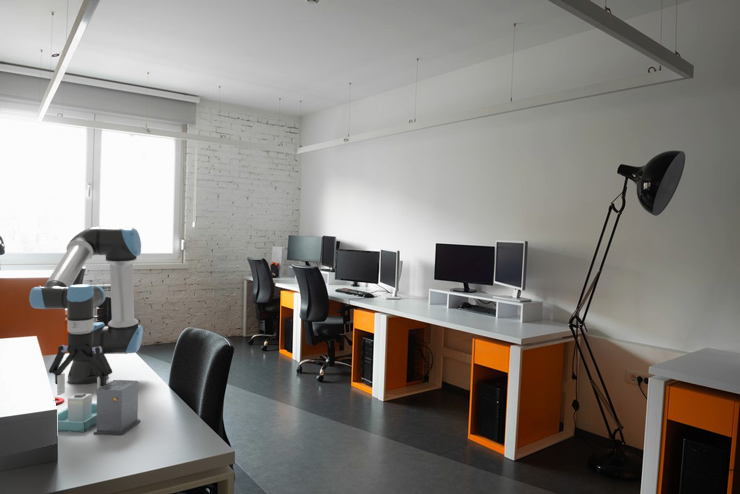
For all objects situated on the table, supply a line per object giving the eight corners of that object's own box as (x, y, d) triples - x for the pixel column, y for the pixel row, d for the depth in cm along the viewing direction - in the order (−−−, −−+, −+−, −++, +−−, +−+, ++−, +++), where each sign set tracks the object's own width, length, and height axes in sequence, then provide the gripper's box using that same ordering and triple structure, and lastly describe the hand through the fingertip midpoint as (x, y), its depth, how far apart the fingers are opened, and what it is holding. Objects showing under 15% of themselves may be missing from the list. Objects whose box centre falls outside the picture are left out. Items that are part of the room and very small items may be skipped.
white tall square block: (77, 416, 173) (77, 391, 173) (91, 417, 173) (92, 392, 172) (67, 422, 168) (67, 396, 167) (82, 423, 168) (82, 397, 167)
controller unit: (113, 420, 172) (113, 379, 171) (140, 421, 171) (140, 380, 171) (93, 434, 160) (93, 389, 160) (122, 435, 160) (122, 390, 159)
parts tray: (77, 411, 179) (77, 402, 179) (113, 412, 179) (113, 404, 179) (43, 430, 162) (43, 421, 162) (83, 432, 162) (83, 422, 161)
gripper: (36, 332, 166) (36, 396, 167) (111, 335, 165) (111, 400, 166) (51, 327, 174) (52, 389, 175) (123, 330, 172) (123, 392, 174)
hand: (80, 394), depth 171 cm, fingers open, 13 cm apart
